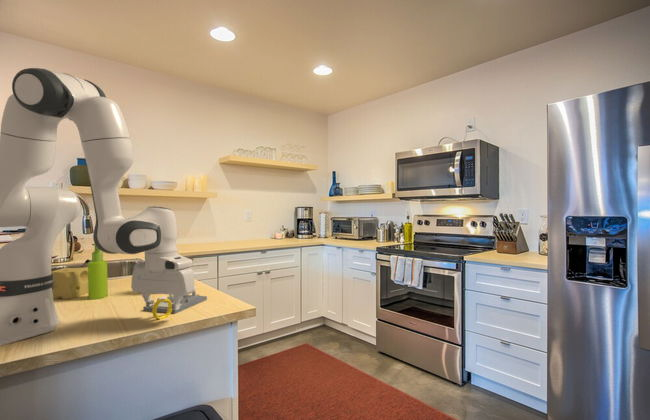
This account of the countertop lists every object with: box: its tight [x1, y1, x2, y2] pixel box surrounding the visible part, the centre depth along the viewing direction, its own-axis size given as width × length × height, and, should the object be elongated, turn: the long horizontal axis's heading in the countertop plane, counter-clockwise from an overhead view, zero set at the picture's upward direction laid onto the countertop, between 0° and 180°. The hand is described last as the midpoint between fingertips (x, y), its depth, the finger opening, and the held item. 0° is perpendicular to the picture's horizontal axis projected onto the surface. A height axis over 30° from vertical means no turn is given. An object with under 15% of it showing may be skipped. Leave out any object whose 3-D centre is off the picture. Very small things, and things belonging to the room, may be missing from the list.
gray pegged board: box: [143, 284, 208, 315], centre depth 113 cm, size 16×12×5 cm
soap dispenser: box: [87, 243, 109, 300], centre depth 123 cm, size 6×7×20 cm
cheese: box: [51, 267, 88, 300], centre depth 126 cm, size 10×11×10 cm
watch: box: [151, 296, 172, 320], centre depth 100 cm, size 6×3×6 cm, turn 157°
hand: (162, 308), depth 99 cm, fingers open, 8 cm apart
